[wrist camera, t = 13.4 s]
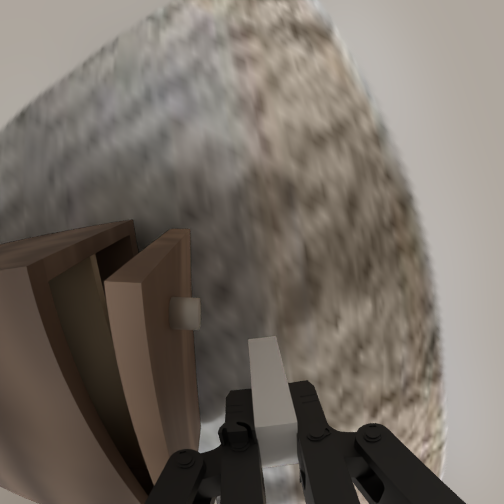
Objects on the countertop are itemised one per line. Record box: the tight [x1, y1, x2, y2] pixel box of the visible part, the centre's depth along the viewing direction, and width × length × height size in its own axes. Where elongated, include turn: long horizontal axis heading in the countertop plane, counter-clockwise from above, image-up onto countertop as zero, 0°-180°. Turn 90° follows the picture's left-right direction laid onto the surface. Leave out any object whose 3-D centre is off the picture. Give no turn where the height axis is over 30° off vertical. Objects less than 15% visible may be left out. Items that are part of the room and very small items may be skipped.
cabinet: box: [0, 219, 154, 504], centre depth 14 cm, size 15×17×11 cm
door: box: [104, 229, 201, 485], centre depth 15 cm, size 2×17×10 cm, turn 178°
